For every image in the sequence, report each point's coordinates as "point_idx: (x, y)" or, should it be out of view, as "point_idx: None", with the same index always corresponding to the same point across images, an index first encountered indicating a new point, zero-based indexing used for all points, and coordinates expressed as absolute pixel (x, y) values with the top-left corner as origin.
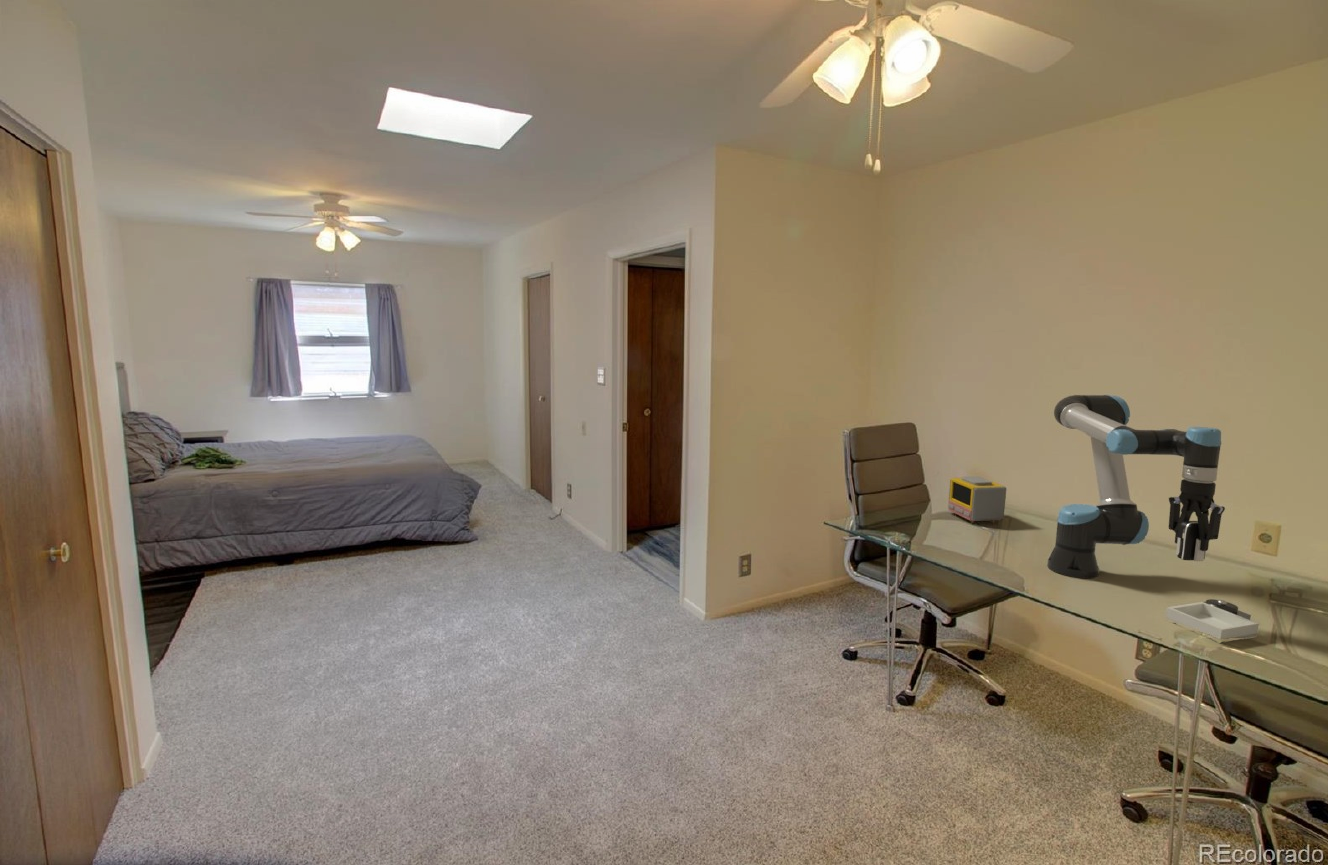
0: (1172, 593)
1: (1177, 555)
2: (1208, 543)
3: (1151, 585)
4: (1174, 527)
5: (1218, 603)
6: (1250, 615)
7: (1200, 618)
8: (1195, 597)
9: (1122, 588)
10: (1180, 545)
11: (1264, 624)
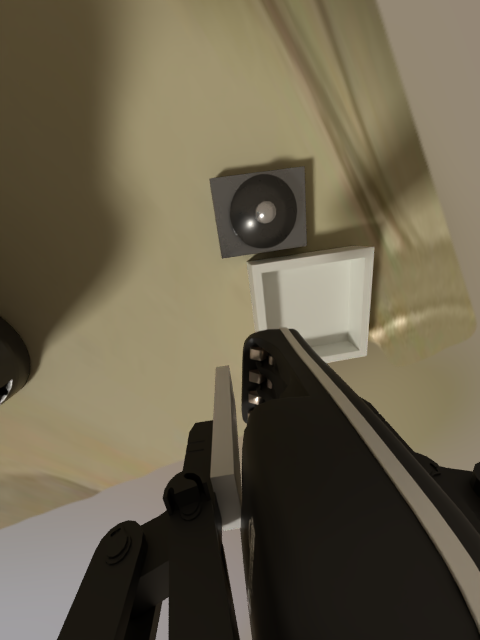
0: (119, 207)
1: (245, 422)
2: (398, 437)
3: (58, 216)
4: (160, 593)
5: (262, 223)
6: (304, 168)
7: (278, 299)
8: (147, 161)
9: (91, 317)
10: (237, 443)
11: (317, 147)
